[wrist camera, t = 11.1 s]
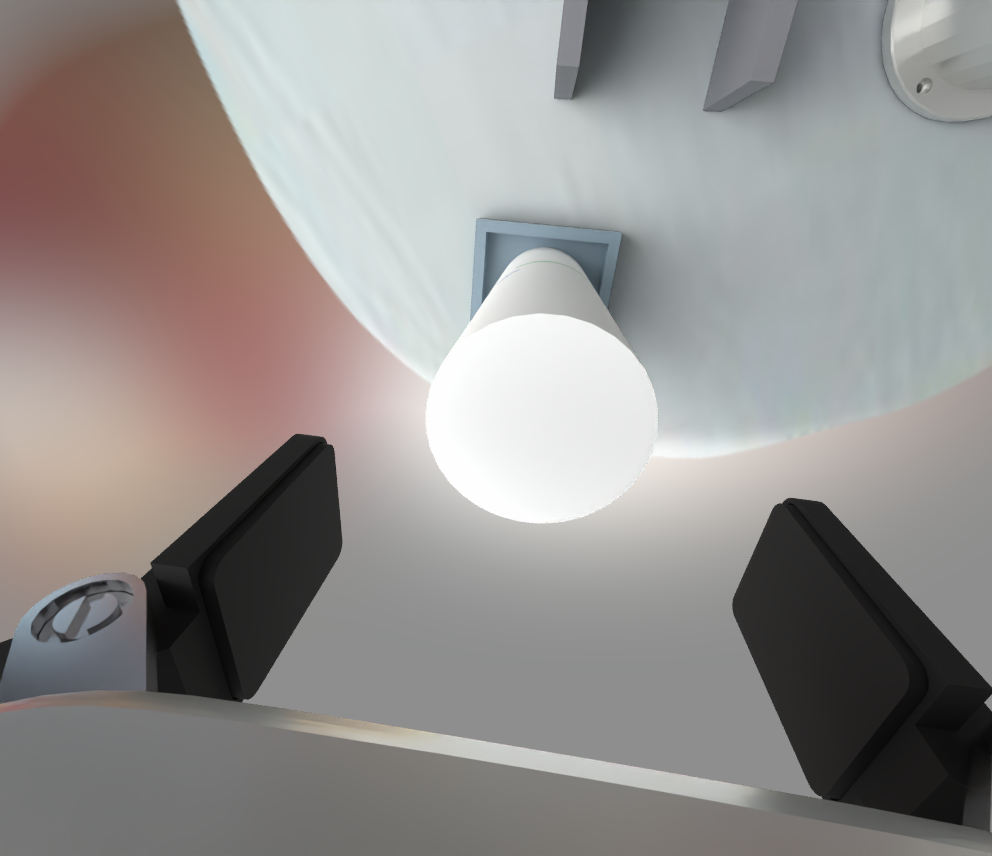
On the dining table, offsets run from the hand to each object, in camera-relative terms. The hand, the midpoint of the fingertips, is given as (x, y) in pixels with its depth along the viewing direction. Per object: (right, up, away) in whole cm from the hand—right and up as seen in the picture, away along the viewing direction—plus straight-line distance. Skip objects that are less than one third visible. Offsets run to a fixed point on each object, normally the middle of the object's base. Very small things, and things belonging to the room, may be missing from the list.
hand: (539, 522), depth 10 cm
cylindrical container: (+3, +13, +27) cm, 30 cm away
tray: (+3, +13, +27) cm, 31 cm away
